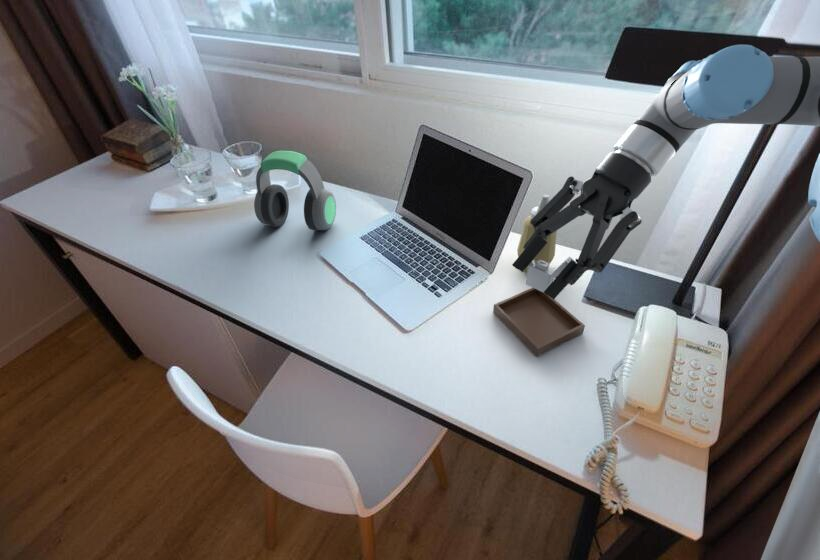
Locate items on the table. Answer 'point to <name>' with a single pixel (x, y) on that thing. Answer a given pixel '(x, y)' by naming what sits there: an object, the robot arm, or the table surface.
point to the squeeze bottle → (528, 230)
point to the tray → (538, 320)
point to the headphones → (274, 197)
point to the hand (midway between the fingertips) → (532, 281)
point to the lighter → (543, 274)
